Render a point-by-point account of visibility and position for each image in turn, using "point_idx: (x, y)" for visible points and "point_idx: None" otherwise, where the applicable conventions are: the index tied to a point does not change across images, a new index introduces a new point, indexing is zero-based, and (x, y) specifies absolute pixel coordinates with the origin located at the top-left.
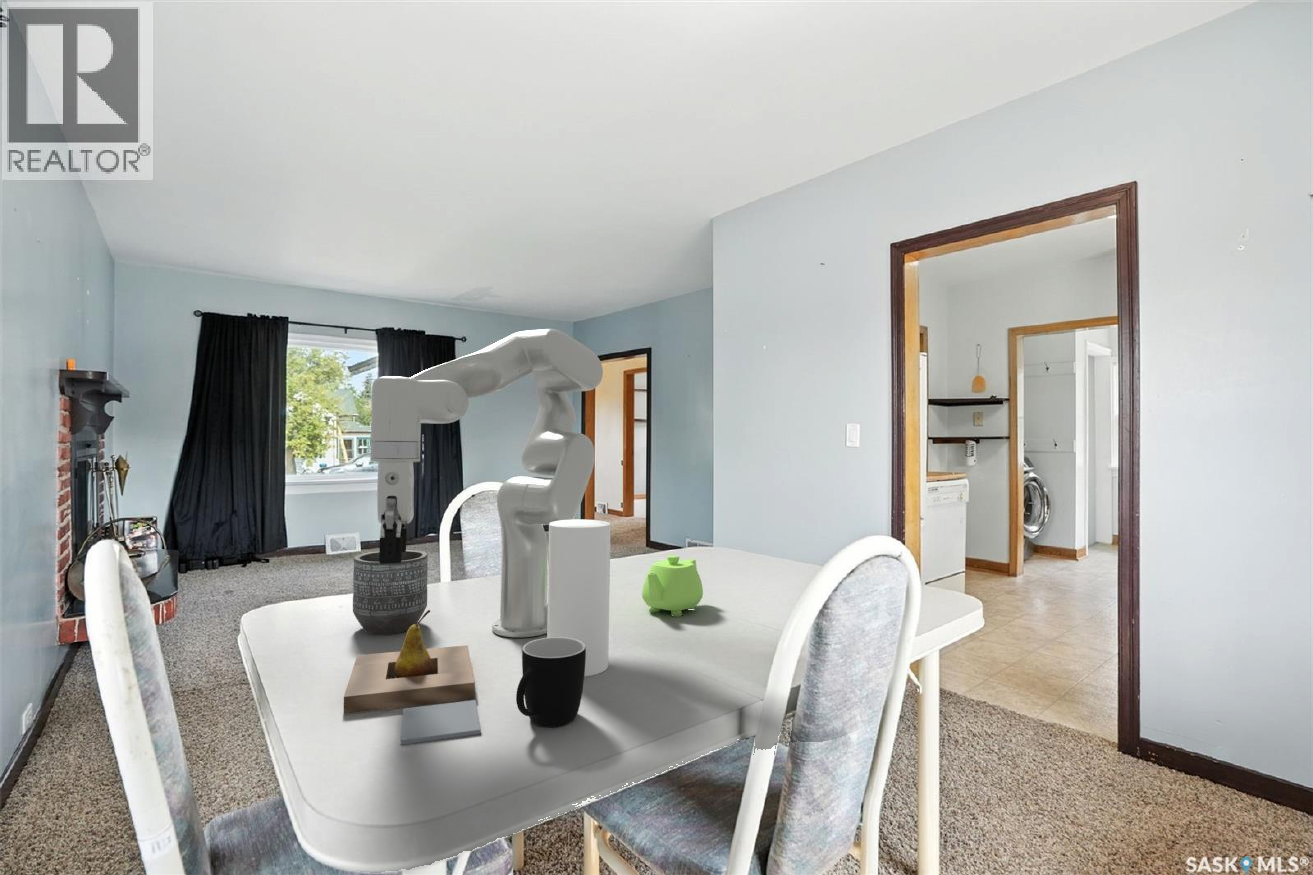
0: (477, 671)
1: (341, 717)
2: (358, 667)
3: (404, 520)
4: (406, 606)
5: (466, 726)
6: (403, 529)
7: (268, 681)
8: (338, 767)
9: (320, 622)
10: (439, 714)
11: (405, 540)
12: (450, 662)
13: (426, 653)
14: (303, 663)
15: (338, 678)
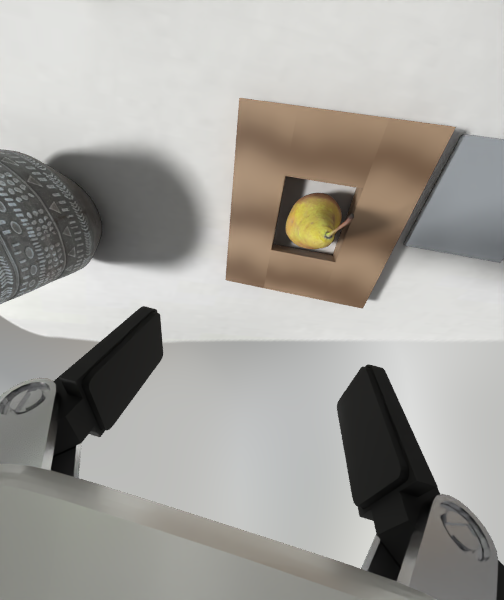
0: (315, 97)
1: None
2: (272, 284)
3: (43, 454)
4: (65, 201)
5: None
6: (83, 389)
7: (230, 339)
8: (485, 315)
9: (55, 287)
10: (468, 204)
11: (126, 337)
12: (321, 156)
13: (330, 206)
14: (190, 313)
15: (248, 291)
